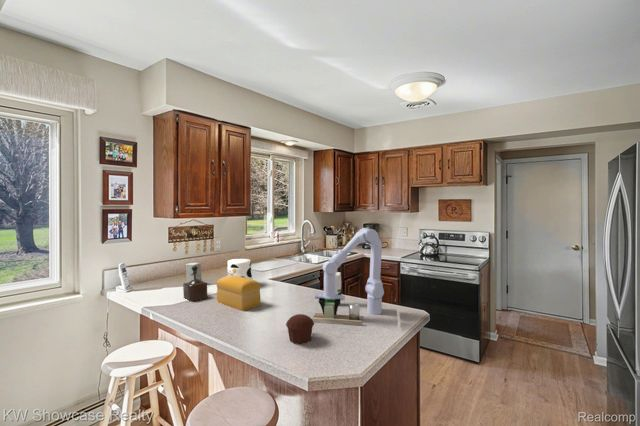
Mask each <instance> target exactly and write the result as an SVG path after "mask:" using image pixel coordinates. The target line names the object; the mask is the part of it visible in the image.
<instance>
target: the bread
mask: <svg viewBox="0 0 640 426" xmlns="http://www.w3.org/2000/svg"><path fill="white" fill-rule="evenodd" d="M261 288H262V287H261V283H260V282H259V281H257V280H254V279H253V280H252V279H248V278H243V277H239V276H234V275H229V276H227V275H226V276H223V277H220V278H219V279H218V280H217V282H216V300H217V303H218V302H219V303H218V304H220V303H222V304H221V305H223V304H224V305H223V306H226V305H227V306H226V307H229V306H230V307H229V308H232V309H235V310H237V309H238V311H242V312H244V311H246V310H247V311H248V310H250V309H253V308H256V307H257V308H258V307H259V306H260V305H261Z"/></svg>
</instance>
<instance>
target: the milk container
mask: <svg viewBox="0 0 640 426" xmlns="http://www.w3.org/2000/svg"><path fill="white" fill-rule="evenodd" d="M251 261H252V260H251V259H249V258H234V259H229V260H227V275H226V276H229V275H234V276H239V277H243V278H248V279H252V280H254V279H253V275H252V262H251Z"/></svg>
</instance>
